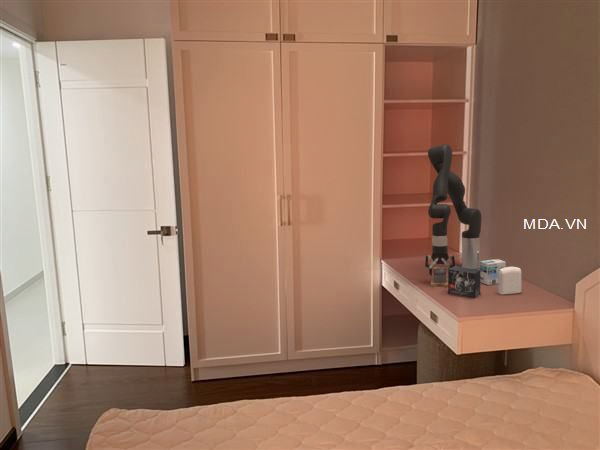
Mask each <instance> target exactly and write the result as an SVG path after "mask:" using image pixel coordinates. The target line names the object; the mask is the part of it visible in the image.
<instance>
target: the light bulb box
mask: <svg viewBox="0 0 600 450" xmlns="http://www.w3.org/2000/svg"><path fill="white" fill-rule="evenodd" d="M506 265H507V262H506V261H504V260H501V259H499V258H494V259H487V260H480V268H479V270H481V278H480V283H481V284H484V285H487V286H490V285H496V284H498V272H499V270H500V269H502V268H505V267H507V266H506Z"/></svg>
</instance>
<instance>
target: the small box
mask: <svg viewBox="0 0 600 450" xmlns="http://www.w3.org/2000/svg"><path fill="white" fill-rule="evenodd" d="M447 274H448V275H447V278H448V287H447V289H448V292H447V294H450V295H455V296H459V297H466V298H471V299H476V298H478V297H479V296H480V295H481V282H480V278H481V270H480V269H470V268H464V267H462V266H456V265H455V266H454V267H452V268H450V269H447Z"/></svg>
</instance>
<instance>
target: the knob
mask: <svg viewBox="0 0 600 450" xmlns="http://www.w3.org/2000/svg"><path fill="white" fill-rule="evenodd" d="M433 278H434V283H446V278H447V268H446V267H443V266H438V267H437V266H433Z"/></svg>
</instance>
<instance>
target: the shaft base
mask: <svg viewBox="0 0 600 450" xmlns="http://www.w3.org/2000/svg"><path fill="white" fill-rule="evenodd" d="M429 286H430V287H437V288H438V287H439V288H440V287H441V288H442V287H444V288H448V277H446V283H434V277H430V285H429Z"/></svg>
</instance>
